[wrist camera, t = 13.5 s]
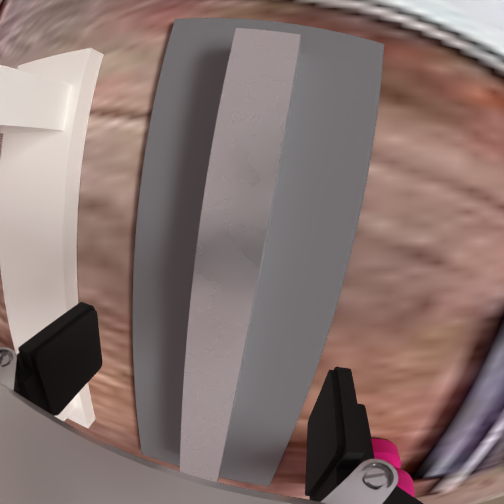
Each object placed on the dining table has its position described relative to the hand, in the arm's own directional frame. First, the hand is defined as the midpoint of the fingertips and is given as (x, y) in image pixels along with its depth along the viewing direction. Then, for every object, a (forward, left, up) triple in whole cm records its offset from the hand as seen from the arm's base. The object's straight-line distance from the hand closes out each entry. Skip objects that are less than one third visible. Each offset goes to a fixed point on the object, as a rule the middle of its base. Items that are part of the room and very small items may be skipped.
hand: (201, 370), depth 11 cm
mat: (+1, 0, -7) cm, 7 cm away
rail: (+1, 0, -7) cm, 7 cm away
